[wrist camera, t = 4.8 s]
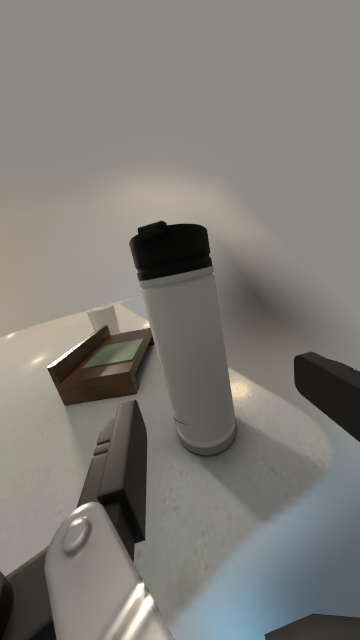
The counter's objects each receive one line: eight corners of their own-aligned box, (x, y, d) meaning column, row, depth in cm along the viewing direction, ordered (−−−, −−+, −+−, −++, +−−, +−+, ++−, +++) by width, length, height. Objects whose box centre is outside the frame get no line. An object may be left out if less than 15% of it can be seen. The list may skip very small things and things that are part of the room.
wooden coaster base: (155, 341, 47) (149, 316, 45) (136, 393, 28) (123, 353, 26) (111, 349, 48) (103, 325, 46) (64, 405, 29) (46, 367, 27)
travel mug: (170, 456, 18) (105, 236, 12) (186, 405, 24) (148, 242, 18) (237, 465, 16) (197, 208, 10) (236, 407, 22) (210, 225, 16)
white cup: (124, 330, 63) (115, 303, 60) (119, 339, 55) (109, 307, 53) (101, 335, 63) (92, 308, 60) (93, 344, 55) (82, 313, 52)
